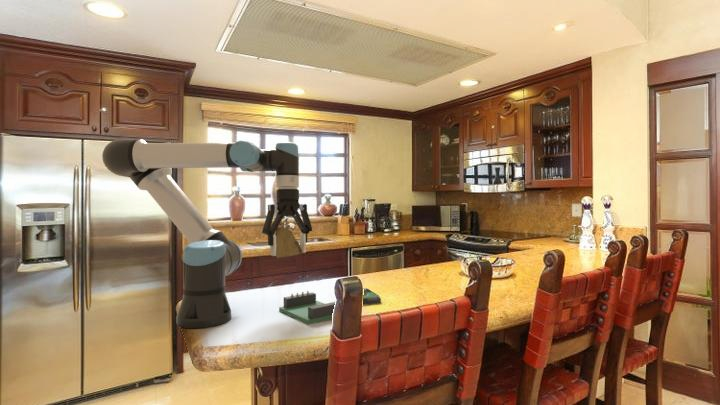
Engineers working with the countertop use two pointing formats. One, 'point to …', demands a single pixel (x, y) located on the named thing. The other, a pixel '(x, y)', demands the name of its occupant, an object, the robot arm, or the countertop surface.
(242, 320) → the countertop surface
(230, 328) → the countertop surface
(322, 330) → the countertop surface
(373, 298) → the disk drive
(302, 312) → the socket board
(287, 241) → the rock
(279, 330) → the countertop surface
